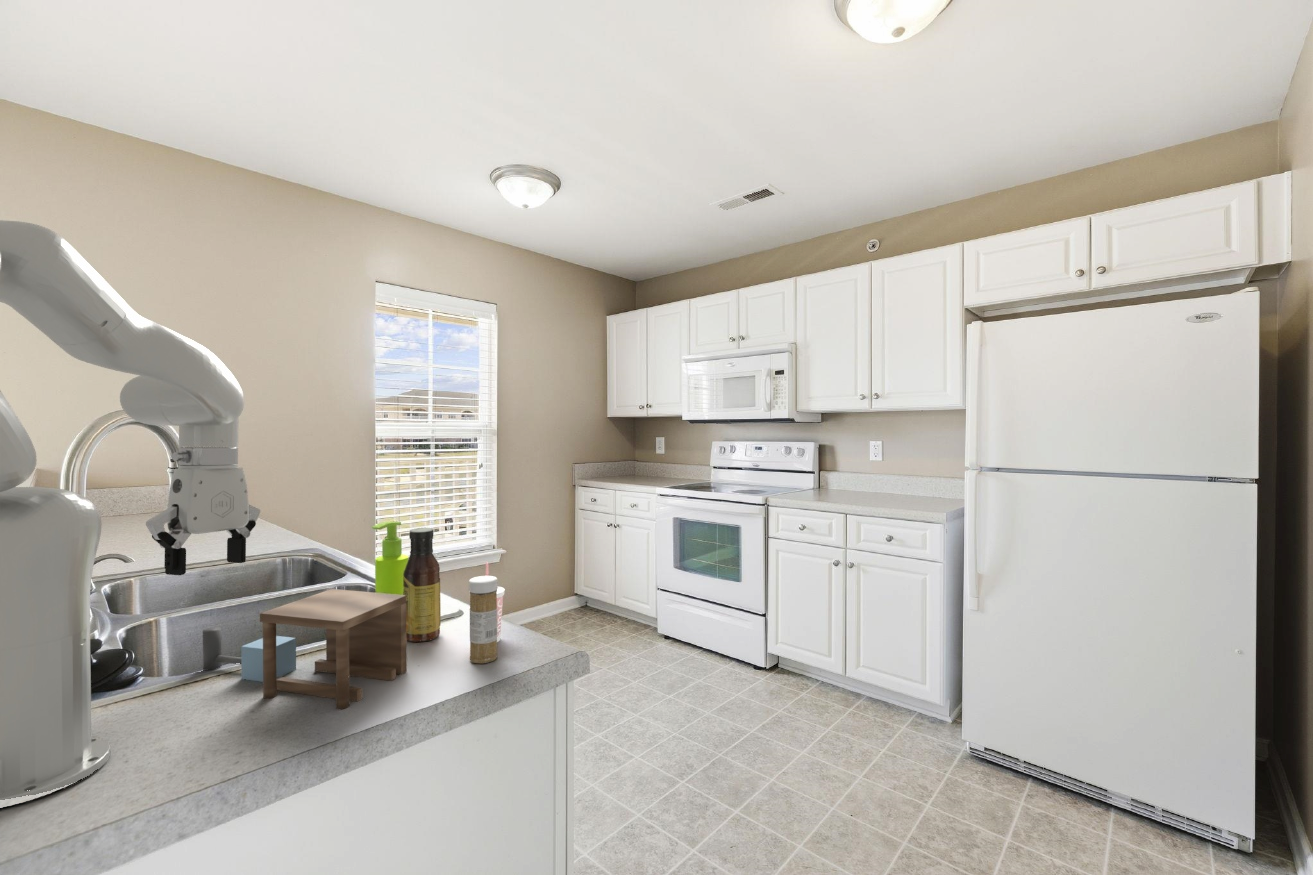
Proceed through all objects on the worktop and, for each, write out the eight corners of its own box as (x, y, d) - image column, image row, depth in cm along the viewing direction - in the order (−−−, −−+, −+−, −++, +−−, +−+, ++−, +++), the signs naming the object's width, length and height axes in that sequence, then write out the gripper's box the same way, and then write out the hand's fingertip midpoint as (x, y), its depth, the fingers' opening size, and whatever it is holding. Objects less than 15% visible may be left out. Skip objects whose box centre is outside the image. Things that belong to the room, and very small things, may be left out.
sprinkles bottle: (490, 651, 101) (490, 573, 101) (502, 660, 97) (502, 578, 97) (464, 658, 98) (464, 577, 98) (475, 667, 94) (475, 583, 94)
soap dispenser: (363, 629, 112) (363, 523, 111) (392, 618, 118) (392, 518, 118) (387, 633, 109) (387, 526, 109) (415, 622, 116) (415, 520, 116)
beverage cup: (489, 648, 102) (489, 568, 102) (461, 643, 105) (461, 564, 104) (511, 637, 108) (511, 560, 108) (484, 632, 110) (484, 557, 110)
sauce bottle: (409, 632, 110) (409, 526, 110) (444, 631, 111) (444, 525, 111) (398, 645, 104) (398, 532, 103) (435, 643, 104) (435, 531, 104)
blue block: (268, 682, 88) (268, 642, 88) (190, 672, 92) (190, 634, 92) (296, 669, 93) (295, 631, 93) (221, 660, 97) (221, 623, 97)
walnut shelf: (343, 709, 80) (342, 621, 80) (260, 697, 83) (259, 613, 83) (406, 671, 93) (406, 595, 92) (332, 662, 96) (331, 588, 96)
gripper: (169, 460, 84) (167, 581, 84) (275, 458, 101) (274, 559, 100) (130, 460, 86) (128, 578, 86) (241, 458, 103) (239, 557, 102)
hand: (207, 568), depth 93 cm, fingers open, 9 cm apart
